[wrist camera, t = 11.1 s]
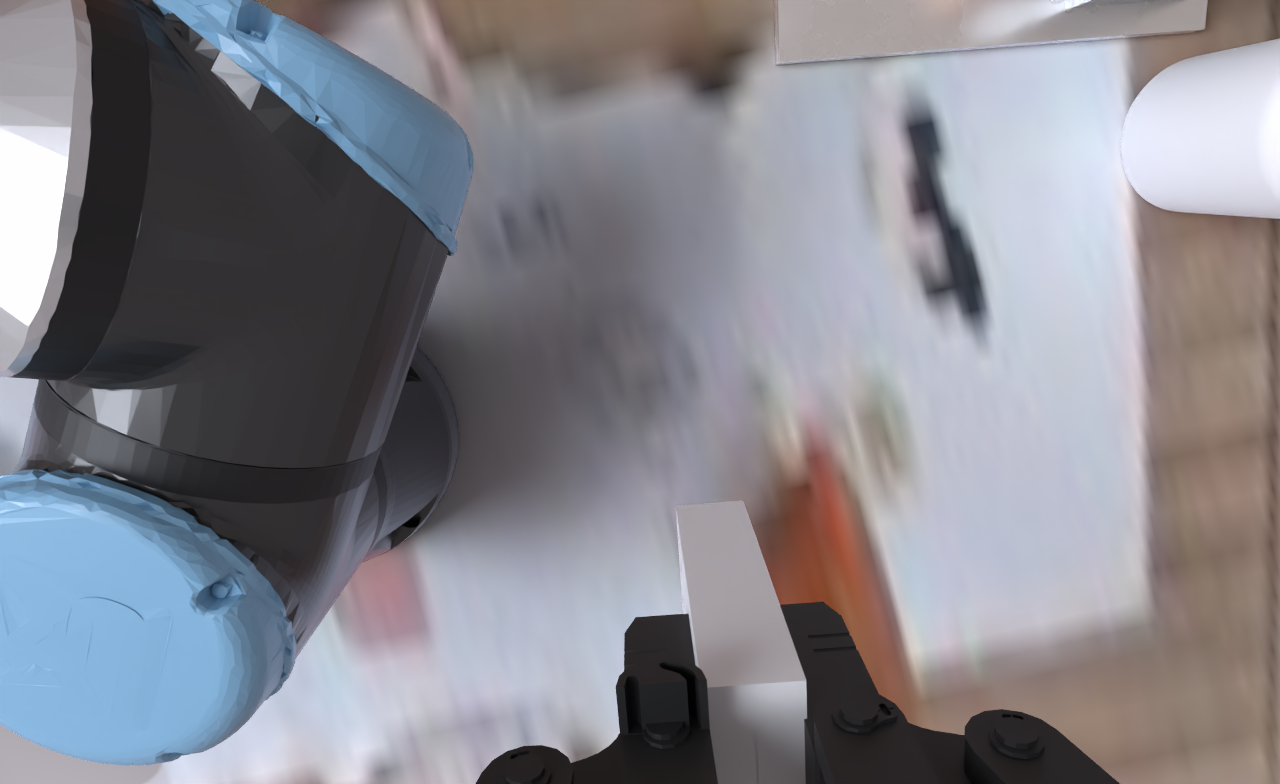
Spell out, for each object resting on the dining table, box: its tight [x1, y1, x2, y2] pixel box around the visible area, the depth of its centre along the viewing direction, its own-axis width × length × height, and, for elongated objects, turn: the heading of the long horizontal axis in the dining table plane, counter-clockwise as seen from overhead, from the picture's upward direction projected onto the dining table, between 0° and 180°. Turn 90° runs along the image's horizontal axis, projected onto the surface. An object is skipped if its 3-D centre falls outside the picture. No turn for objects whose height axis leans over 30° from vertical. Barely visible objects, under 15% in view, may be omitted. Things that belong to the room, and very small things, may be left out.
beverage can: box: [1121, 39, 1280, 219], centre depth 38 cm, size 8×8×12 cm
